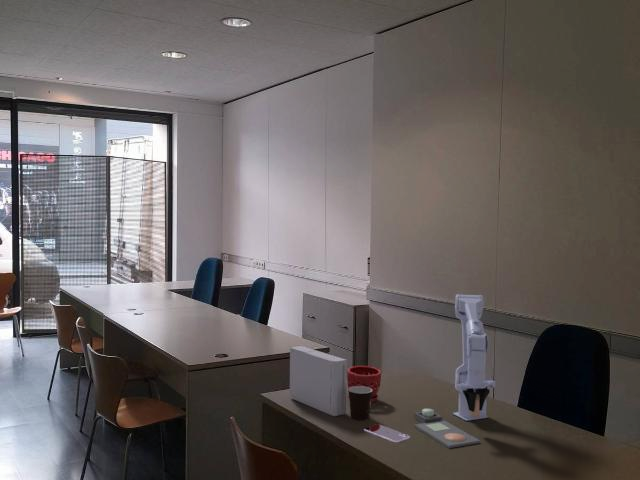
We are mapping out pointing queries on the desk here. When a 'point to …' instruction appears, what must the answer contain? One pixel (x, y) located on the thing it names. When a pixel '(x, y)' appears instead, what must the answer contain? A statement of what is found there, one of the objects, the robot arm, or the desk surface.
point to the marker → (476, 407)
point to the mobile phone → (386, 433)
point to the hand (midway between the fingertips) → (475, 410)
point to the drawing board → (447, 434)
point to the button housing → (422, 419)
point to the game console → (318, 380)
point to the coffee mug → (360, 402)
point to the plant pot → (365, 379)
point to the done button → (428, 413)
